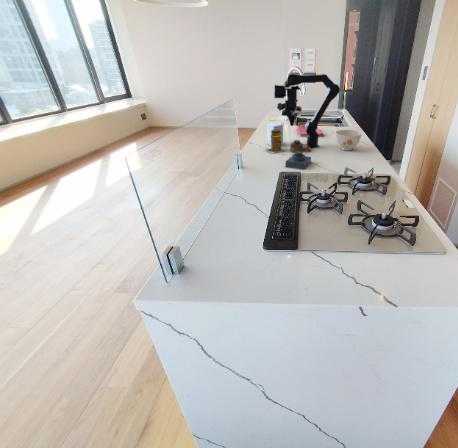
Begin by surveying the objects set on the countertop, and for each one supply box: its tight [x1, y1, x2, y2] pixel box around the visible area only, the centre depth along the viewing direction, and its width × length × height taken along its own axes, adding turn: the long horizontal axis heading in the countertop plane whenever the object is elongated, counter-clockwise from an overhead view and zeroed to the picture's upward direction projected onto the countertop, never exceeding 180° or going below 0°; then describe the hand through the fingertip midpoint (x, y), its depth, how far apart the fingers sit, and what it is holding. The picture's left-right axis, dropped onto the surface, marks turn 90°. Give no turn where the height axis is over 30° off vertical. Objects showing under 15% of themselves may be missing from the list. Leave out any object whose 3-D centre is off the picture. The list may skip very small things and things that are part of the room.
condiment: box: [266, 130, 284, 154], centre depth 170 cm, size 7×8×12 cm
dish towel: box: [296, 125, 324, 137], centre depth 212 cm, size 17×24×3 cm
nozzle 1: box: [293, 139, 301, 144], centre depth 171 cm, size 4×4×2 cm
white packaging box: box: [266, 122, 284, 146], centre depth 181 cm, size 7×7×13 cm
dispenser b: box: [290, 141, 311, 154], centre depth 173 cm, size 10×8×4 cm
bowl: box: [334, 129, 363, 151], centre depth 176 cm, size 16×16×10 cm
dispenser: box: [285, 153, 312, 170], centre depth 151 cm, size 12×10×5 cm
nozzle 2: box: [294, 151, 303, 157], centre depth 150 cm, size 4×4×2 cm
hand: (291, 125), depth 173 cm, fingers closed
